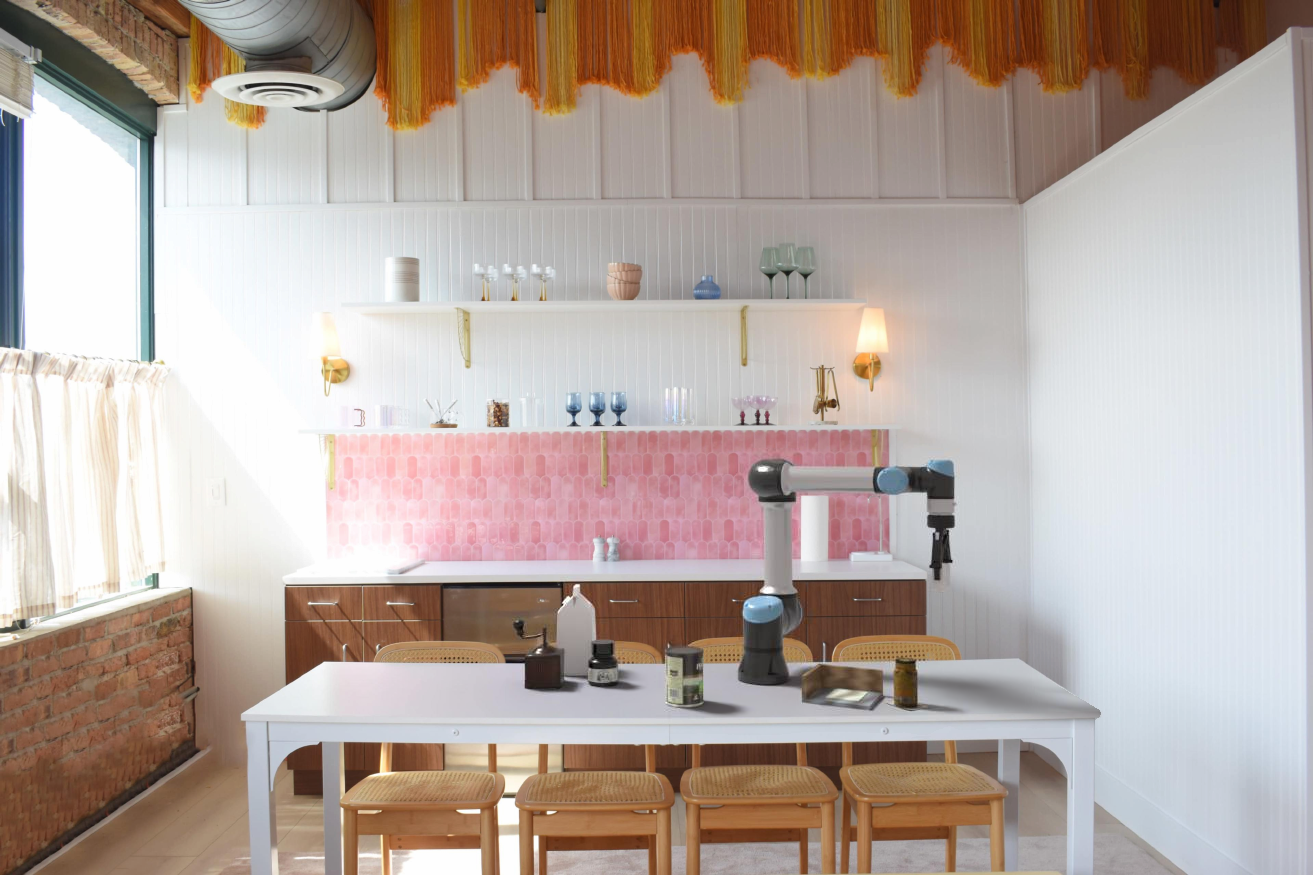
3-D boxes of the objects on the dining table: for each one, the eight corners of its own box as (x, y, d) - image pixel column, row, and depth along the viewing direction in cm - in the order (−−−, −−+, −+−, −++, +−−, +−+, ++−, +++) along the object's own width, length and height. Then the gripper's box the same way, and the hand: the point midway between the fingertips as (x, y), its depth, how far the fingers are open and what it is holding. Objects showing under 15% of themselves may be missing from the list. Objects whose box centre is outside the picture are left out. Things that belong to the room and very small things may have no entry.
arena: (801, 702, 245) (801, 675, 245) (819, 688, 259) (818, 663, 259) (869, 710, 237) (869, 682, 237) (883, 695, 251) (882, 669, 251)
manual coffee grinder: (565, 679, 271) (565, 618, 271) (560, 689, 260) (560, 625, 260) (513, 679, 272) (513, 618, 272) (505, 688, 261) (505, 624, 261)
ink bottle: (585, 687, 262) (584, 644, 262) (587, 679, 271) (587, 638, 271) (619, 687, 262) (619, 644, 262) (620, 679, 271) (620, 638, 271)
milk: (593, 675, 276) (593, 588, 276) (555, 675, 276) (555, 588, 277) (597, 666, 288) (597, 583, 288) (560, 666, 288) (560, 583, 289)
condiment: (906, 700, 247) (905, 655, 247) (929, 707, 239) (929, 661, 240) (886, 703, 243) (885, 658, 244) (909, 711, 236) (908, 664, 236)
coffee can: (705, 698, 249) (705, 646, 249) (701, 708, 239) (700, 654, 239) (668, 696, 251) (668, 644, 251) (662, 707, 241) (661, 652, 241)
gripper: (947, 516, 249) (948, 595, 248) (960, 511, 271) (961, 584, 271) (919, 516, 252) (920, 593, 251) (934, 511, 274) (935, 582, 274)
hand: (941, 588), depth 261 cm, fingers open, 13 cm apart
